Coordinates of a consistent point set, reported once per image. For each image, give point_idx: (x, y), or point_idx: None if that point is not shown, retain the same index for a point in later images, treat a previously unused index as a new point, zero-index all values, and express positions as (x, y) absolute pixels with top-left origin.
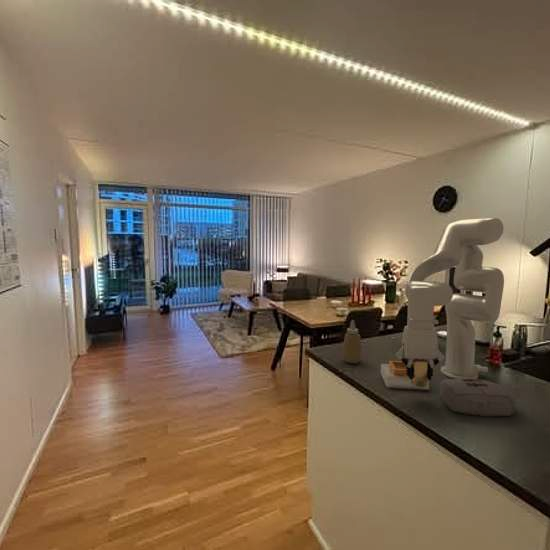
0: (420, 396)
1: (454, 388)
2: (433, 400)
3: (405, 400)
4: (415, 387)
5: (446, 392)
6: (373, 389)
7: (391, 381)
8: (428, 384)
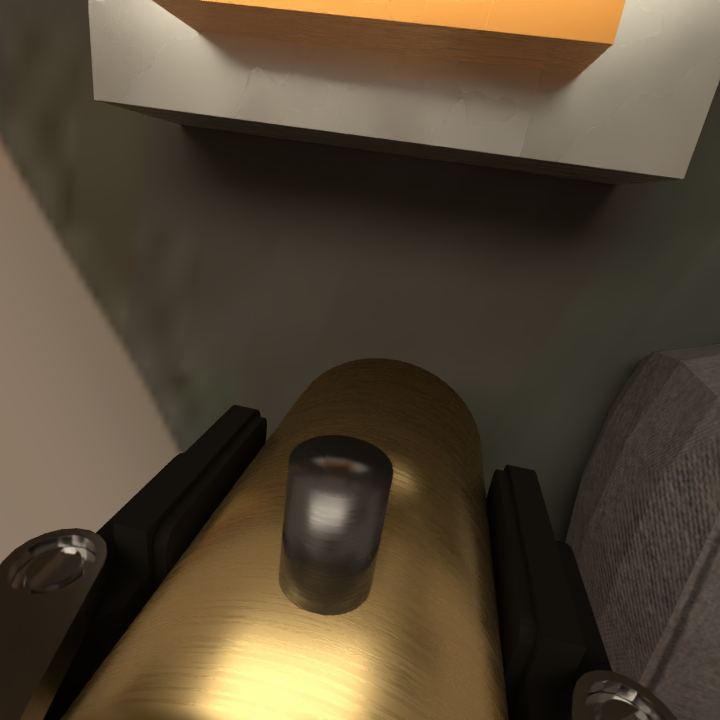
0: (440, 328)
1: (681, 714)
2: (519, 404)
3: (279, 389)
4: (470, 164)
5: (598, 600)
6: (54, 179)
7: (188, 118)
8: (637, 182)
